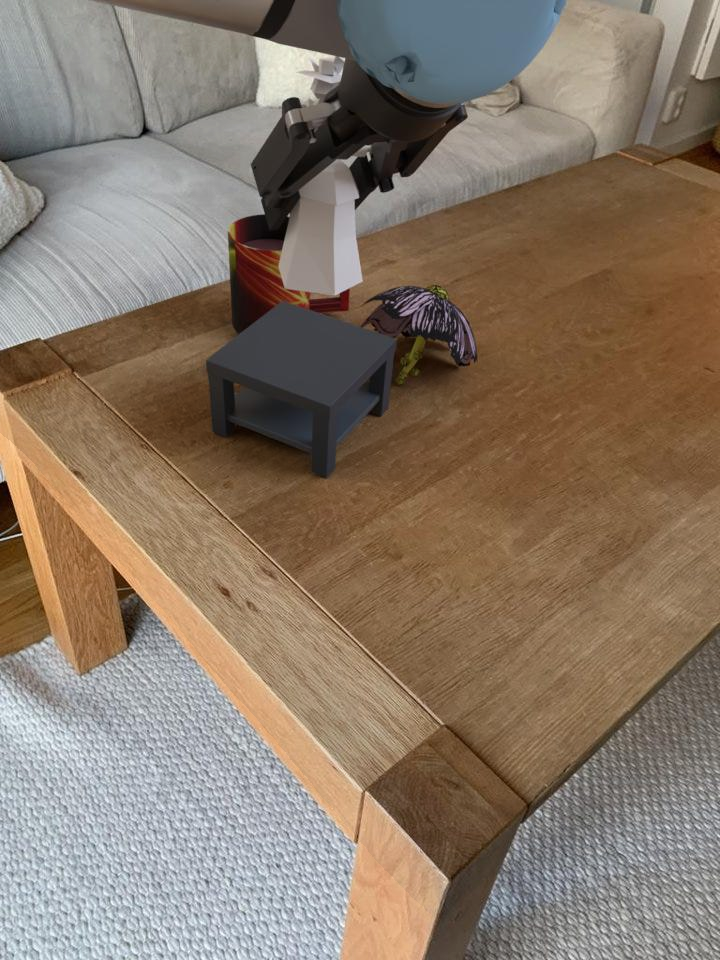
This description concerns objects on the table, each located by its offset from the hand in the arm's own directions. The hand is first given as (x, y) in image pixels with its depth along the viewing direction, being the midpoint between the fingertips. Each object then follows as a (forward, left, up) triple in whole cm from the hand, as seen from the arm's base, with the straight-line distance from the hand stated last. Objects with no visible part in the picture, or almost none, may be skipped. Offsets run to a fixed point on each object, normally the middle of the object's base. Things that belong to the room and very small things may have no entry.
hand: (305, 209), depth 71 cm
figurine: (+3, -2, -5) cm, 6 cm away
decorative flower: (+5, +18, -25) cm, 31 cm away
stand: (-1, +2, -24) cm, 24 cm away
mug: (-14, +19, -25) cm, 34 cm away
